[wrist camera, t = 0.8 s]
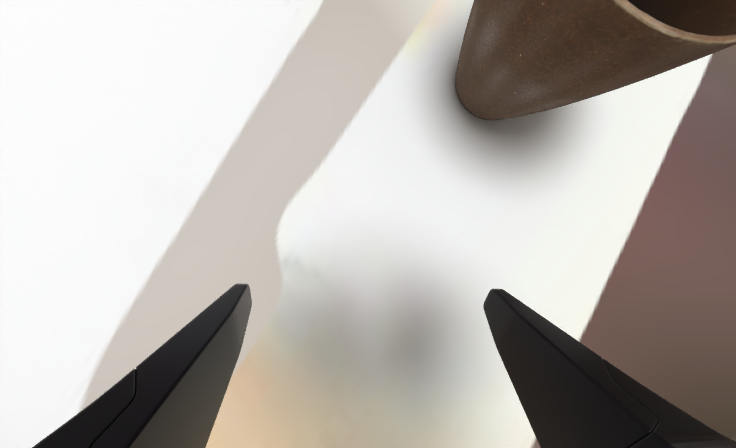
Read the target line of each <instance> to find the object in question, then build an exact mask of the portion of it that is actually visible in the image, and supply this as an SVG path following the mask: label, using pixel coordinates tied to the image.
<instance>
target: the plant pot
mask: <svg viewBox="0 0 736 448" xmlns="http://www.w3.org/2000/svg"><path fill="white" fill-rule="evenodd" d="M735 44H736V0H474V3H473V6H472V9H471V13H470V16H469V20H468V23H467V27H466V31H465V34H464V39H463V43H462V47H461V52H460V57H459V62H458V67H457V74H456V90H457V94H458V96H459V99H460V101H461V102H462V104H463V105H464V107H465V108H466V109H467V110H468V111H469V112H471V113H472V114H474V115H475V116H477V117H479V118H482V119H487V120H497V119H505V118H512V117H518V116H523V115H528V114H533V113H537V112H541V111H546V110H550V109H553V108H557V107H561V106H564V105H568V104H571V103H574V102H578V101H581V100H584V99H588V98H591V97H594V96H597V95H600V94H603V93H606V92H609V91H612V90H615V89H618V88H621V87H624V86H627V85H630V84H633V83H635V82H638V81H641V80H644V79H647V78H650V77H652V76H655V75H658V74H660V73H663V72H666V71H668V70H671V69H673V68H676V67H679V66H681V65H684V64H686V63H689V62H692V61H694V60H697V59H699V58H702V57H705V56H707V55H710V54H712V53H715V52H717V51H720V50H722V49H725V48H727V47H730V46H733V45H735Z"/></svg>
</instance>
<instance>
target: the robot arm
mask: <svg viewBox="0 0 736 448" xmlns="http://www.w3.org/2000/svg"><path fill="white" fill-rule="evenodd" d="M251 305H252V299H251V293H250V287H249V285H248V284H235V285H234V286H232V287H231V288H230V289H229V290H228V291H226V292H225V293H224V294H223V295H222V296H220V297H219V298H218V299H217V300H216V301H214V302H213V303H212V304H211V305H210V306H209V307H207V308H206V309H205V310H204V311H203V312H201V313H200V314H199V315H198V316H197V317H195V318H194V319H193V320H192V321H191V322H189V323H188V324H187V325H186V326H185V327H183V328H182V329H181V330H180V331H179V332H177V333H176V334H175V335H174V336H173V337H171V338H170V339H169V340H168V341H167V342H166V343H164V344H163V345H162V346H161V347H160V348H158V349H157V350H156V351H155V352H154V353H152V354H151V355H150V356H149V357H148V358H146V359H145V360H144V361H143V362H142V363H141V364H139V365H138V366H137V367H136V369H133V370H132V371H131V372H130V373H128V374H127V375H126V376H125V377H124V378H122V379H121V380H120V381H119V382H118V383H116V384H115V385H114V386H113V387H111V388H110V389H109V390H108V391H106V392H105V393H104V394H103V395H101V396H100V397H99V398H98V399H96V400H95V401H94V402H93V403H91V404H90V405H89V406H87V407H86V408H85V409H83V410H82V411H81V412H79V413H78V414H77V415H75V416H74V417H73V418H71V419H70V420H69V421H68V422H66V423H65V424H63V425H62V426H61V427H59V428H58V429H57V430H55V431H54V432H53V433H51V434H50V435H49V436H47V437H46V438H44V439H43V440H42V441H40V442H39V443H38V444H36V445H35V446H34V447H32V448H205V447H206V444H207V442H208V439H209V436H210V433H211V431H212V428H213V425H214V423H215V420H216V417H217V414H218V412H219V409H220V406H221V403H222V401H223V398H224V395H225V392H226V390H227V387H228V384H229V381H230V379H231V376H232V373H233V371H234V368H235V365H236V362H237V360H238V357H239V354H240V350H241V347H242V343H243V339H244V335H245V331H246V327H247V323H248V319H249V314H250V310H251ZM484 311H485V314H486V317H487V320H488V323H489V326H490V329H491V332H492V336H493V339H494V341H495V344H496V347H497V349H498V352H499V354H500V356H501V359H502V361H503V363H504V366H505V368H506V370H507V372H508V375H509V377H510V379H511V381H512V384H513V386H514V388H515V391H516V393H517V395H518V397H519V400H520V402H521V404H522V406H523V409H524V411H525V413H526V415H527V418H528V420H529V422H530V425H531V427H532V429H533V431H534V434H535V436H536V438H537V440H538V443H539V445H540V447H541V448H736V441H734V440H732V439H729V438H728V437H726V436H724V435H722V434H720V433H718V432H717V431H715V430H713V429H711V428H710V427H708V426H707V425H705V424H704V423H702V422H700V421H699V420H697V419H696V418H694V417H692V416H691V415H689V414H688V413H686V412H684V411H683V410H681V409H680V408H678V407H676V406H675V405H673V404H672V403H670V402H669V401H667V400H665V399H664V398H662V397H661V396H659V395H657V394H656V393H654V392H653V391H651V390H650V389H648V388H646V387H645V386H643V385H642V384H640V383H639V382H637V381H635V380H634V379H632V378H631V377H630V376H628V375H627V374H625V373H624V372H622V371H621V370H619V369H618V368H616V367H614V366H613V365H612V364H610V363H609V362H608V361H606V360H605V359H602V358H601V357H600V356H599V355H597V354H596V353H594V352H593V351H591V350H590V349H589V348H587V347H586V346H584V345H583V344H581V343H580V342H578V341H577V340H576V339H574V338H573V337H571V336H570V335H568V334H567V333H565V332H564V331H562V330H561V329H560V328H558V327H557V326H555V325H554V324H552V323H551V322H549V321H548V320H547V319H545V318H544V317H542V316H541V315H539V314H538V313H536V312H535V311H533V310H532V309H531V308H529V307H528V306H526V305H525V304H523V303H522V302H520V301H519V300H518V299H516V298H515V297H513V296H512V295H510V294H509V293H507V292H506V291H504V290H503V289H491V290H490V292H489V294H488V296H487V298H486V300H485V302H484Z"/></svg>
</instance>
